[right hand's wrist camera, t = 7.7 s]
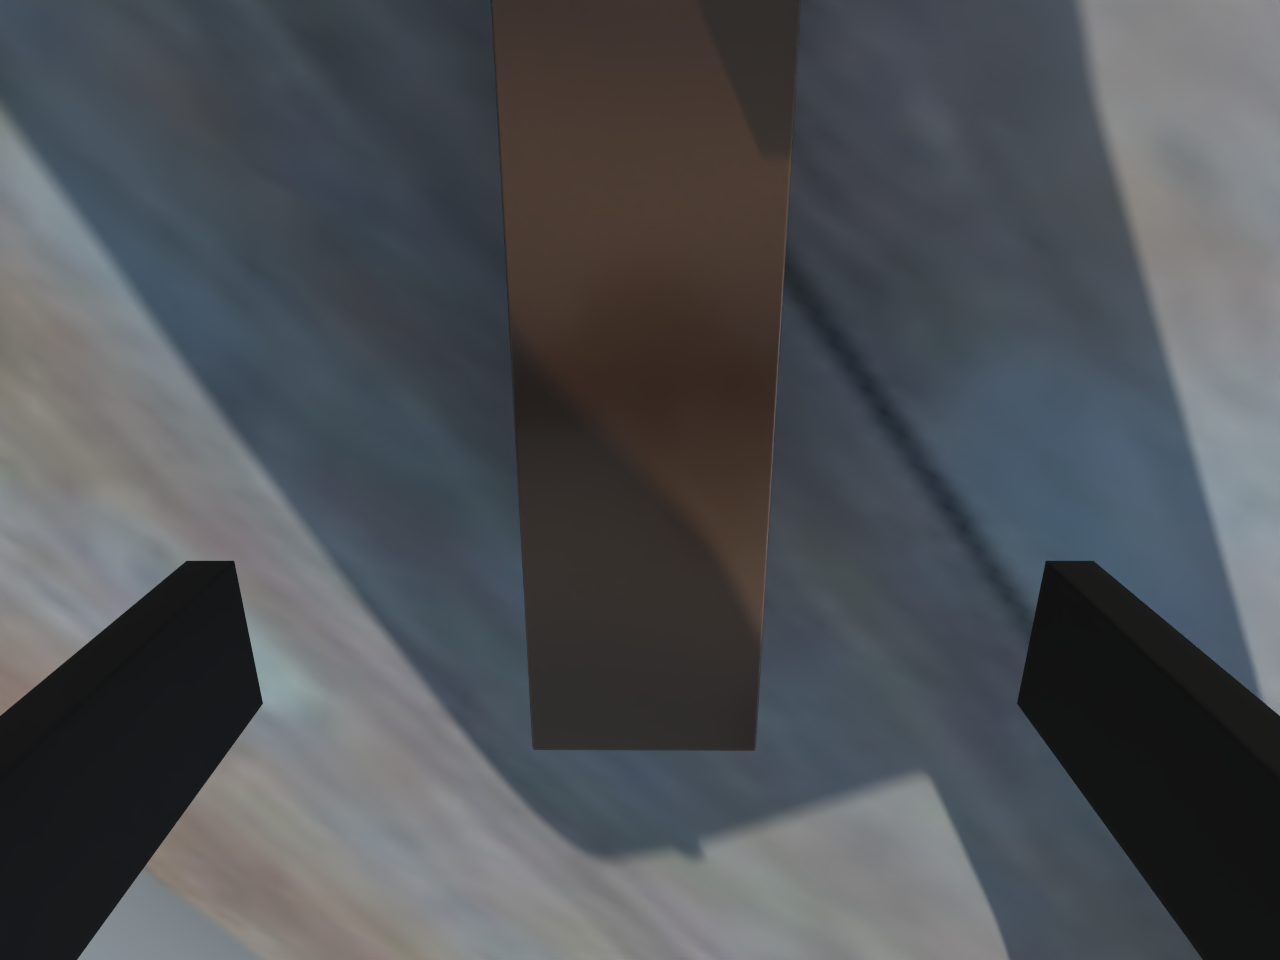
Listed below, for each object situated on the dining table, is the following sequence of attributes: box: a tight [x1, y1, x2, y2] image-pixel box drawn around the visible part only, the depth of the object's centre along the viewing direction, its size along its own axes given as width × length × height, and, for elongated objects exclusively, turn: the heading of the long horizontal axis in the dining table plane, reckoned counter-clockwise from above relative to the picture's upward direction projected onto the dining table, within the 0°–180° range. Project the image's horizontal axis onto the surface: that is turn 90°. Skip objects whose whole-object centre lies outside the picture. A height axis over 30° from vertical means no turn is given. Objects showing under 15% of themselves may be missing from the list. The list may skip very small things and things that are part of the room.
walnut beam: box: [491, 0, 801, 751], centre depth 17 cm, size 28×5×9 cm, turn 0°
